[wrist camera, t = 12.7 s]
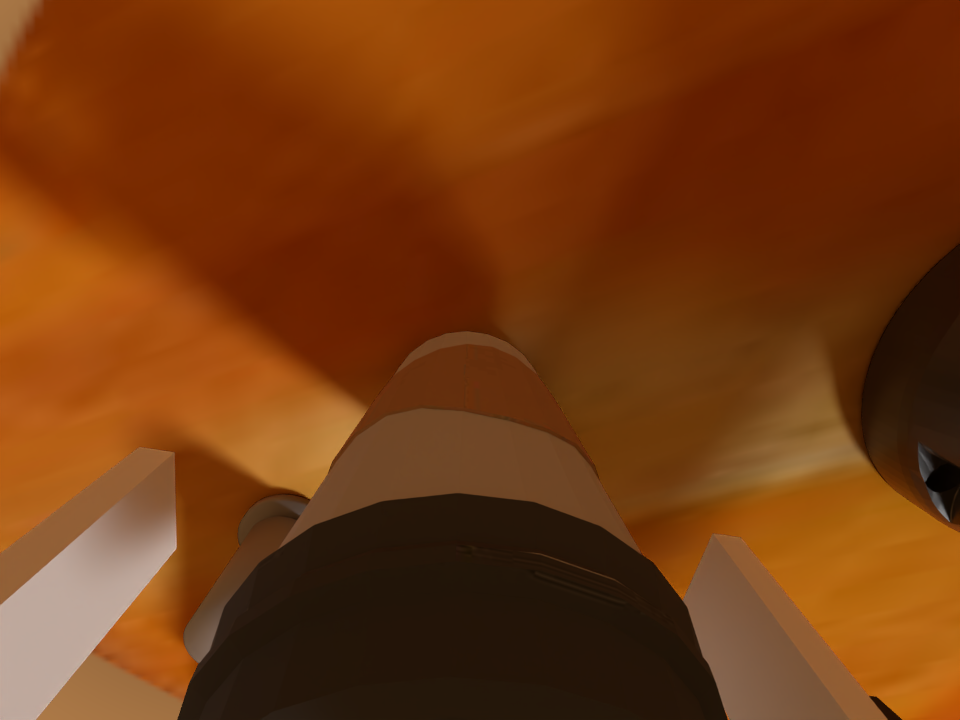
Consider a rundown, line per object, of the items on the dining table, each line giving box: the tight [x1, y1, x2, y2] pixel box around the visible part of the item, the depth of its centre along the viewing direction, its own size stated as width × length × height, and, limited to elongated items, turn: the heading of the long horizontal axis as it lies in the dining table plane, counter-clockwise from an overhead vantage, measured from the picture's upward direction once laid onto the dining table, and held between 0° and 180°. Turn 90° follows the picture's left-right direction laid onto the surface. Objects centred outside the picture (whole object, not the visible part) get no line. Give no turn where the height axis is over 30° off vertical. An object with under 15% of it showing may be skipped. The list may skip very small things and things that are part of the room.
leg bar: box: [183, 516, 297, 663], centre depth 20 cm, size 12×3×5 cm, turn 169°
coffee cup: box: [178, 331, 728, 720], centre depth 13 cm, size 8×8×15 cm
